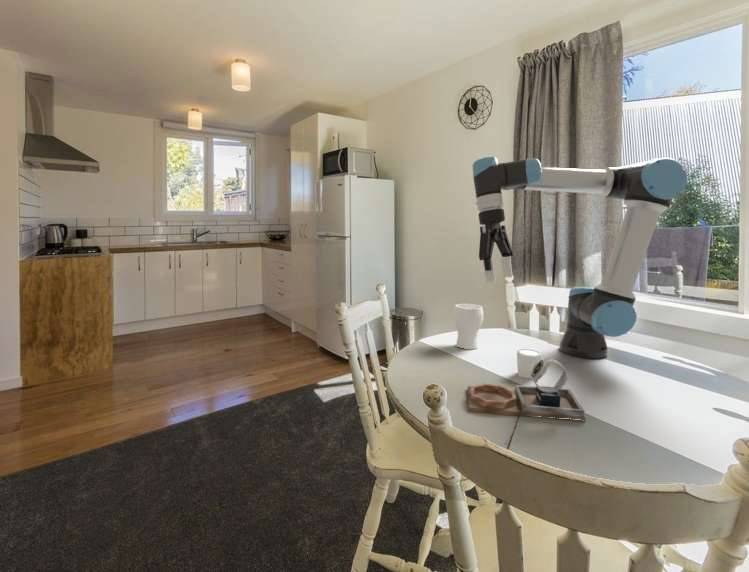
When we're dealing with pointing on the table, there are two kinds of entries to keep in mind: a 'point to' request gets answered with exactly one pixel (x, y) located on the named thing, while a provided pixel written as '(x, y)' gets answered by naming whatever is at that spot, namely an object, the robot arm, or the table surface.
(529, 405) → the sorting board
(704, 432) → the table surface
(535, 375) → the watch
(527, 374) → the white cylinder
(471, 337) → the cup
